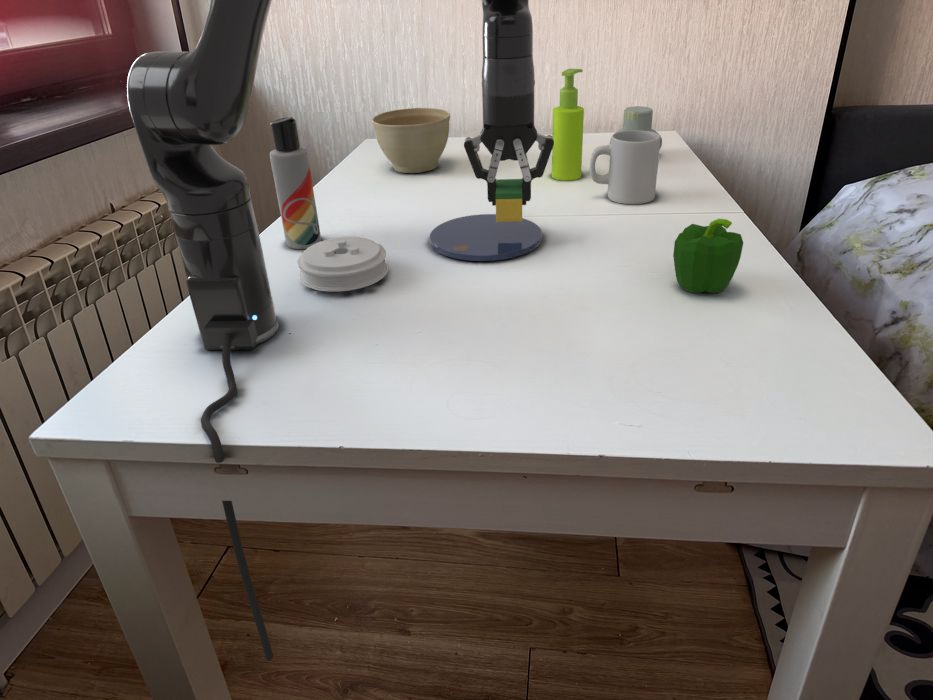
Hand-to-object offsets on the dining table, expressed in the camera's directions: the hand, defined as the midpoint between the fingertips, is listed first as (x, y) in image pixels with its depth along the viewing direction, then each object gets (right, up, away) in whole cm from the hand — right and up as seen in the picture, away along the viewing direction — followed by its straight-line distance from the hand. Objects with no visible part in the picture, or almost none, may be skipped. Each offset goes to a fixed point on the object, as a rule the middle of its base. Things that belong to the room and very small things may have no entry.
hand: (509, 203), depth 109 cm
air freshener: (+29, +18, +40) cm, 53 cm away
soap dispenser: (+14, +12, +31) cm, 36 cm away
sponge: (0, -2, +1) cm, 2 cm away
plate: (-4, -5, +3) cm, 7 cm away
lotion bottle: (-34, -6, +6) cm, 34 cm away
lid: (-24, -13, -7) cm, 28 cm away
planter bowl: (-18, +16, +41) cm, 47 cm away
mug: (+22, +5, +19) cm, 29 cm away
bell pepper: (+25, -15, -14) cm, 32 cm away
